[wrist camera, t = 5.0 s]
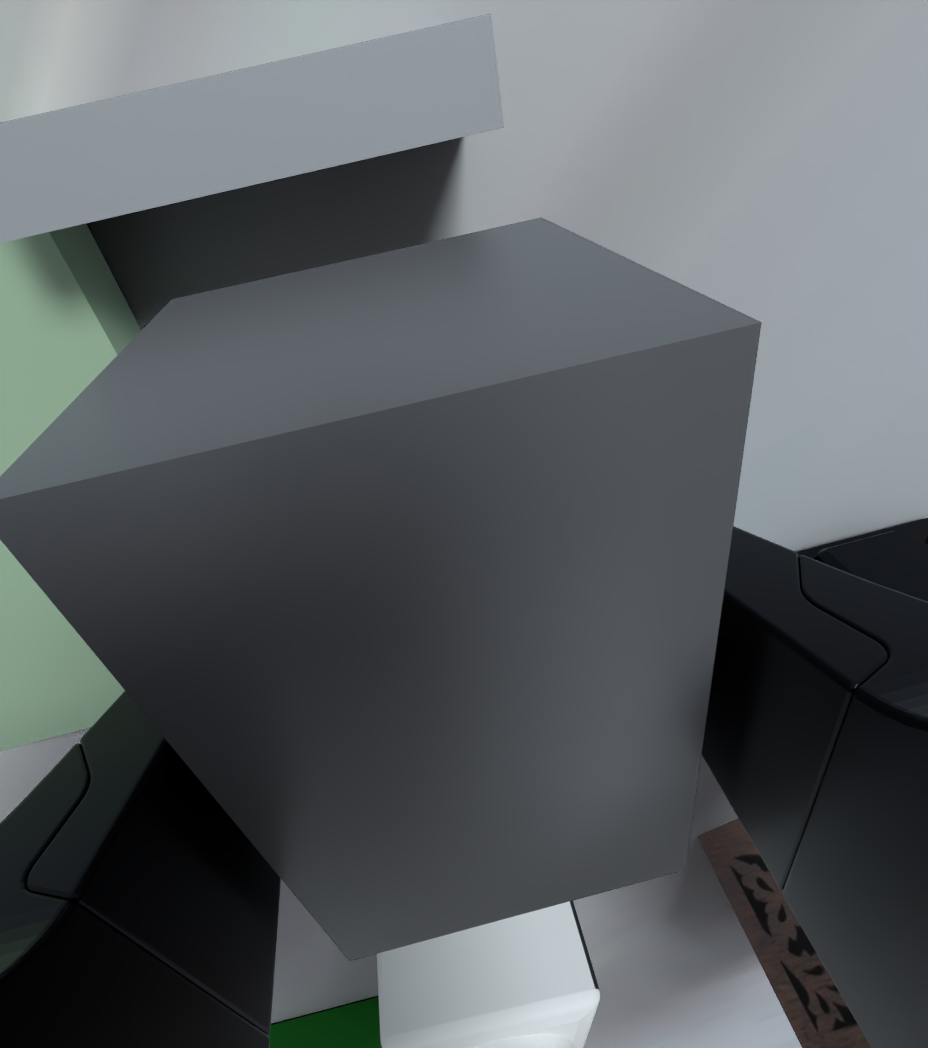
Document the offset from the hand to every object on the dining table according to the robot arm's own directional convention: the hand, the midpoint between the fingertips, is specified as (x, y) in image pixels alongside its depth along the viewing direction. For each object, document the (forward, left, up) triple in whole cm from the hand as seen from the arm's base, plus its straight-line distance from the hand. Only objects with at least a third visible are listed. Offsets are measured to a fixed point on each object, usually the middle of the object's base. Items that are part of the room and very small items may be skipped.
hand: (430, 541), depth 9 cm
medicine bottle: (-21, +3, -5) cm, 22 cm away
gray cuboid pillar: (0, 0, -1) cm, 1 cm away
